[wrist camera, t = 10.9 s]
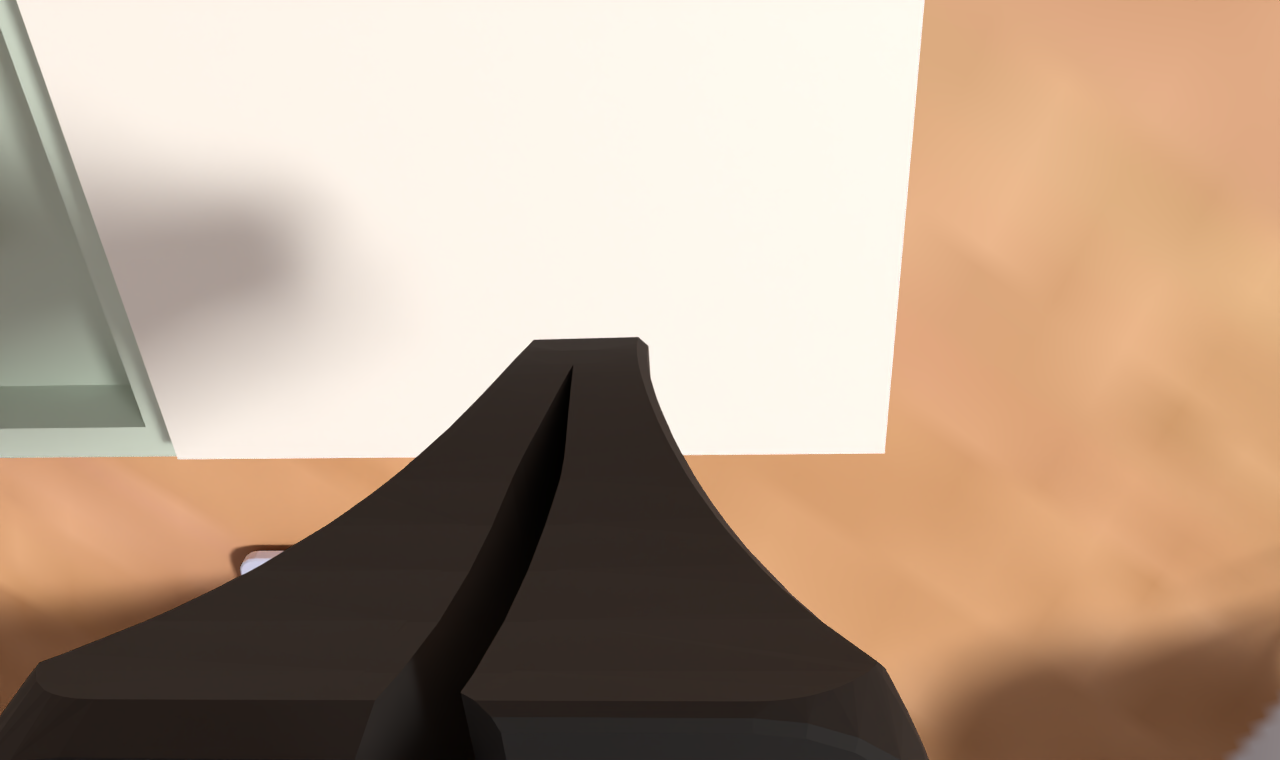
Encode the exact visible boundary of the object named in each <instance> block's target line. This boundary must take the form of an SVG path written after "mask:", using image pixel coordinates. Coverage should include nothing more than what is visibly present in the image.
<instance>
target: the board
mask: <svg viewBox="0 0 1280 760" xmlns="http://www.w3.org/2000/svg"><path fill="white" fill-rule="evenodd" d="M16 1H17V4H18V7H19V10H20V12H21V15H22V18H23V21H24V24H25V27H26V29H27V32H28V35H29V38H30V41H31V44H32V46H33V49H34V52H35V55H36V58H37V61H38V64H39V66H40V69H41V72H42V75H43V78H44V81H45V83H46V86H47V89H48V92H49V95H50V98H51V100H52V103H53V106H54V109H55V112H56V115H57V117H58V120H59V123H60V126H61V129H62V132H63V135H64V137H65V140H66V143H67V146H68V149H69V152H70V154H71V157H72V160H73V163H74V166H75V169H76V171H77V174H78V177H79V180H80V183H81V186H82V188H83V191H84V194H85V197H86V200H87V203H88V206H89V208H90V211H91V214H92V217H93V220H94V223H95V225H96V228H97V231H98V234H99V237H100V240H101V242H102V245H103V248H104V251H105V254H106V257H107V259H108V262H109V265H110V268H111V271H112V274H113V277H114V279H115V282H116V285H117V288H118V291H119V294H120V296H121V299H122V302H123V305H124V308H125V311H126V313H127V316H128V319H129V322H130V325H131V328H132V331H133V333H134V336H135V339H136V342H137V345H138V348H139V350H140V353H141V356H142V359H143V362H144V365H145V367H146V370H147V373H148V376H149V379H150V382H151V384H152V387H153V390H154V393H155V396H156V399H157V402H158V404H159V407H160V410H161V413H162V416H163V419H164V421H165V424H166V427H167V430H168V433H169V436H170V438H171V441H172V444H173V447H174V450H175V453H176V455H177V458H178V459H267V458H386V457H417V456H418V455H419V454H420V453H422V452H423V451H424V450H425V449H426V448H427V447H428V446H429V445H430V444H432V443H433V442H434V441H435V440H436V439H437V438H438V437H439V436H440V435H442V434H443V433H444V432H445V431H446V430H447V429H448V428H449V427H450V426H451V425H452V424H453V423H454V422H455V421H456V420H457V419H458V418H459V417H460V416H461V415H462V414H463V413H464V412H465V411H466V410H467V409H468V408H469V407H470V406H471V405H472V404H473V403H474V402H475V401H476V400H477V399H478V398H479V397H480V396H481V395H482V394H483V393H484V392H485V391H486V389H487V388H488V387H489V386H490V385H491V384H492V383H493V382H494V381H495V380H496V379H497V378H498V377H499V376H500V375H501V373H502V372H503V371H504V370H505V369H506V368H507V367H508V366H509V365H510V364H511V363H512V362H513V361H514V359H515V358H516V357H517V356H518V355H519V354H520V353H521V352H522V351H523V350H524V349H525V348H526V347H527V346H528V345H529V344H530V343H531V342H532V341H533V340H539V339H578V338H618V337H639V338H640V339H641V340H642V341H643V342H645V343H646V344H647V345H648V346H649V361H650V376H651V381H652V384H653V388H654V391H655V394H656V397H657V400H658V402H659V405H660V408H661V410H662V412H663V415H664V417H665V419H666V421H667V424H668V426H669V428H670V431H671V433H672V435H673V437H674V439H675V441H676V443H677V445H678V447H679V449H680V451H681V453H682V455H742V454H861V453H885V442H886V431H887V419H888V408H889V397H890V385H891V374H892V363H893V351H894V340H895V329H896V317H897V306H898V295H899V283H900V272H901V261H902V249H903V238H904V227H905V215H906V204H907V193H908V181H909V170H910V159H911V147H912V136H913V125H914V113H915V102H916V91H917V79H918V68H919V57H920V45H921V34H922V23H923V11H924V0H16Z"/></svg>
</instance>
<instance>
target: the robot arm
mask: <svg viewBox="0 0 1280 760" xmlns="http://www.w3.org/2000/svg"><path fill="white" fill-rule="evenodd" d="M240 572H241V576H239V577H237V578H235V579H233V580H232V581H230V582H228V583H226V584H224V585H222V586H220V587H218V588H216V589H214V590H212V591H210V592H208V593H206V594H204V595H202V596H199V597H197V598H195V599H193V600H191V601H189V602H187V603H185V604H183V605H180V606H178V607H176V608H174V609H172V610H170V611H167V612H165V613H163V614H161V615H158V616H156V617H154V618H152V619H149V620H147V621H145V622H142V623H140V624H137V625H135V626H132V627H130V628H127V629H125V630H122V631H120V632H117V633H115V634H112V635H110V636H107V637H105V638H102V639H100V640H97V641H95V642H92V643H89V644H87V645H84V646H82V647H79V648H77V649H74V650H72V651H69V652H67V653H64V654H62V655H59V656H56V657H53V658H51V659H48V660H45V661H42V662H39V664H38V665H37V666H36V668H35V669H34V670H33V671H32V673H31V674H30V675H29V677H28V678H27V679H26V681H25V682H24V683H23V685H22V686H21V688H20V689H19V690H18V692H17V693H16V695H15V696H14V697H13V699H12V700H11V702H10V703H9V704H8V706H7V707H6V709H5V710H4V711H3V713H2V714H1V716H0V760H929V759H928V756H927V754H926V751H925V748H924V746H923V744H922V741H921V739H920V737H919V735H918V733H917V730H916V728H915V726H914V724H913V722H912V720H911V717H910V715H909V713H908V711H907V709H906V707H905V705H904V703H903V701H902V699H901V697H900V695H899V694H898V692H897V690H896V688H895V686H894V684H893V682H892V680H891V678H890V676H889V675H888V673H887V671H886V669H885V668H884V667H883V666H882V665H881V664H880V663H878V662H877V661H876V660H874V659H873V658H872V657H870V656H869V655H867V654H866V653H865V652H863V651H862V650H860V649H859V648H858V647H856V646H855V645H853V644H852V643H851V642H849V641H848V640H847V639H845V638H844V637H842V636H841V635H840V634H838V633H837V632H835V631H834V630H833V629H831V628H830V627H828V626H827V625H826V624H824V623H823V622H822V621H821V620H820V619H818V618H817V617H816V616H815V615H814V614H813V613H812V612H811V611H809V610H808V609H807V608H806V607H805V606H804V605H803V604H801V603H800V602H799V601H798V600H797V599H796V598H795V597H793V596H792V595H791V594H790V593H789V592H788V590H787V589H786V588H785V587H784V586H783V585H782V584H781V583H780V582H779V581H778V580H777V579H776V578H775V577H774V576H773V575H772V574H771V573H770V572H769V571H768V570H767V569H766V568H765V567H764V566H763V565H762V564H761V562H760V561H759V560H758V559H757V558H756V557H755V556H754V555H753V554H752V553H751V552H750V551H749V550H748V549H747V548H746V546H745V545H744V544H743V543H742V541H741V540H740V539H739V538H738V536H737V535H736V534H735V533H734V531H733V530H732V529H731V528H730V527H729V525H728V524H727V523H726V521H725V520H724V519H723V517H722V516H721V515H720V513H719V512H718V510H717V509H716V508H715V506H714V505H713V504H712V502H711V501H710V499H709V498H708V496H707V495H706V493H705V492H704V490H703V489H702V487H701V485H700V484H699V482H698V481H697V479H696V477H695V476H694V474H693V472H692V471H691V469H690V467H689V465H688V464H687V462H686V460H685V458H684V456H683V455H682V453H681V451H680V449H679V447H678V445H677V443H676V441H675V439H674V437H673V435H672V433H671V431H670V428H669V426H668V424H667V421H666V419H665V417H664V415H663V412H662V410H661V408H660V405H659V402H658V400H657V397H656V394H655V391H654V388H653V384H652V381H651V376H650V361H649V346H648V345H647V344H646V343H645V342H643V341H642V340H641V339H640V338H639V337H618V338H578V339H539V340H533V341H532V342H531V343H530V344H529V345H528V346H527V347H526V348H525V349H524V350H523V351H522V352H521V353H520V354H519V355H518V356H517V357H516V358H515V359H514V361H513V362H512V363H511V364H510V365H509V366H508V367H507V368H506V369H505V370H504V371H503V372H502V373H501V375H500V376H499V377H498V378H497V379H496V380H495V381H494V382H493V383H492V384H491V385H490V386H489V387H488V388H487V389H486V391H485V392H484V393H483V394H482V395H481V396H480V397H479V398H478V399H477V400H476V401H475V402H474V403H473V404H472V405H471V406H470V407H469V408H468V409H467V410H466V411H465V412H464V413H463V414H462V415H461V416H460V417H459V418H458V419H457V420H456V421H455V422H454V423H453V424H452V425H451V426H450V427H449V428H448V429H447V430H446V431H445V432H444V433H443V434H442V435H440V436H439V437H438V438H437V439H436V440H435V441H434V442H433V443H432V444H430V445H429V446H428V447H427V448H426V449H425V450H424V451H423V452H422V453H420V454H419V455H418V456H417V457H416V458H415V459H414V460H413V461H411V462H410V463H409V464H408V465H407V466H406V467H405V468H404V469H402V470H401V471H400V472H399V473H398V474H396V475H395V476H394V477H393V478H391V479H390V480H389V481H388V482H386V483H385V484H384V485H382V486H381V487H380V488H379V489H377V490H376V491H375V492H373V493H372V494H371V495H369V496H368V497H366V498H365V499H364V500H362V501H361V502H359V503H358V504H357V505H355V506H354V507H352V508H351V509H350V510H348V511H347V512H345V513H344V514H343V515H341V516H340V517H338V518H337V519H335V520H334V521H332V522H331V523H329V524H328V525H326V526H325V527H323V528H321V529H320V530H318V531H316V532H315V533H313V534H312V535H310V536H308V537H307V538H305V539H303V540H302V541H300V542H298V543H297V544H295V545H293V546H292V547H290V548H288V549H287V550H285V551H254V552H251V553H249V554H248V555H247V556H246V557H245V559H244V561H243V563H242V565H241V567H240Z"/></svg>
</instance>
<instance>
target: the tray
mask: <svg viewBox="0 0 1280 760" xmlns="http://www.w3.org/2000/svg"><path fill="white" fill-rule="evenodd" d="M149 456H177V455H176V453H175V450H174V447H173V444H172V441H171V438H170V436H169V433H168V430H167V427H166V424H165V421H164V419H163V416H162V413H161V410H160V407H159V404H158V402H157V399H156V396H155V393H154V390H153V387H152V384H151V382H150V379H149V376H148V373H147V370H146V367H145V365H144V362H143V359H142V356H141V353H140V350H139V348H138V345H137V342H136V339H135V336H134V333H133V331H132V328H131V325H130V322H129V319H128V316H127V313H126V311H125V308H124V305H123V302H122V299H121V296H120V294H119V291H118V288H117V285H116V282H115V279H114V277H113V274H112V271H111V268H110V265H109V262H108V259H107V257H106V254H105V251H104V248H103V245H102V242H101V240H100V237H99V234H98V231H97V228H96V225H95V223H94V220H93V217H92V214H91V211H90V208H89V206H88V203H87V200H86V197H85V194H84V191H83V188H82V186H81V183H80V180H79V177H78V174H77V171H76V169H75V166H74V163H73V160H72V157H71V154H70V152H69V149H68V146H67V143H66V140H65V137H64V135H63V132H62V129H61V126H60V123H59V120H58V117H57V115H56V112H55V109H54V106H53V103H52V100H51V98H50V95H49V92H48V89H47V86H46V83H45V81H44V78H43V75H42V72H41V69H40V66H39V64H38V61H37V58H36V55H35V52H34V49H33V46H32V44H31V41H30V38H29V35H28V32H27V29H26V27H25V24H24V21H23V18H22V15H21V12H20V10H19V7H18V4H17V1H16V0H0V458H34V457H149Z"/></svg>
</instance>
